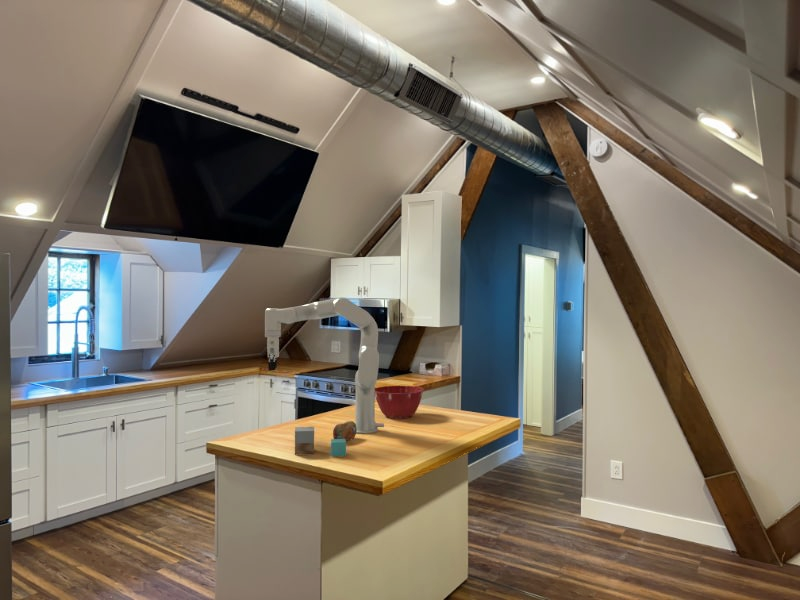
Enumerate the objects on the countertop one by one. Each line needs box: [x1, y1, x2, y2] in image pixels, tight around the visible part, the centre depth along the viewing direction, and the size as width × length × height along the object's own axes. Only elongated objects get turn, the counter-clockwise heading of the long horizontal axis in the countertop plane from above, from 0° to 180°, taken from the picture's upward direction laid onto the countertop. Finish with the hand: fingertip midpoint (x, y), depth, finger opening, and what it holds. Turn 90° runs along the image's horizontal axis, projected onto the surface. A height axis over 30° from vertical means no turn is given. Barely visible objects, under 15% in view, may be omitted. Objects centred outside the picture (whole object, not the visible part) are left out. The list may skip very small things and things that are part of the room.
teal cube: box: [330, 438, 347, 457], centre depth 236 cm, size 6×6×6 cm
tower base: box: [294, 442, 315, 456], centre depth 240 cm, size 8×8×5 cm
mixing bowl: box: [375, 385, 424, 419], centre depth 317 cm, size 28×28×16 cm
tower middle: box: [294, 426, 315, 444], centre depth 240 cm, size 8×8×5 cm
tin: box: [332, 420, 357, 442], centre depth 261 cm, size 15×3×8 cm, turn 148°
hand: (272, 369), depth 273 cm, fingers open, 9 cm apart
